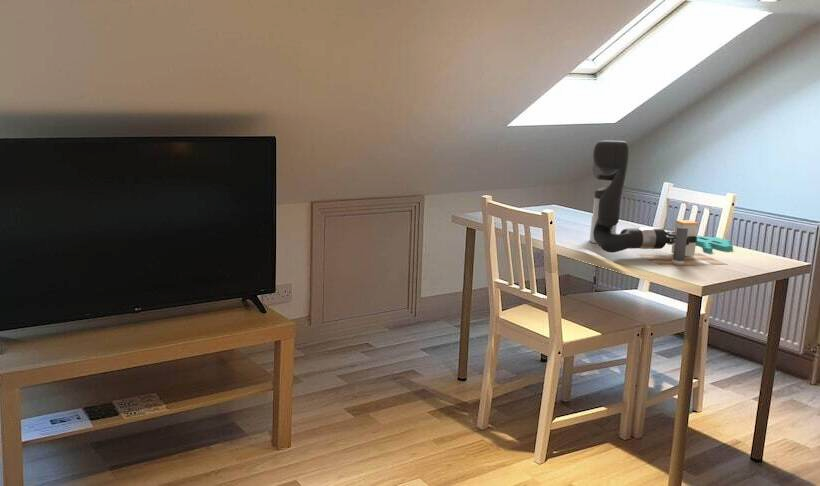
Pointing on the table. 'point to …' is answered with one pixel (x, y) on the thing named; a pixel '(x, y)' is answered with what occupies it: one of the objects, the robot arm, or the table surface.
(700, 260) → the subfloor panel
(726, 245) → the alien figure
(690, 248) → the white orange-topped block
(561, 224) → the table surface
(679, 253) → the dark grey tall block
